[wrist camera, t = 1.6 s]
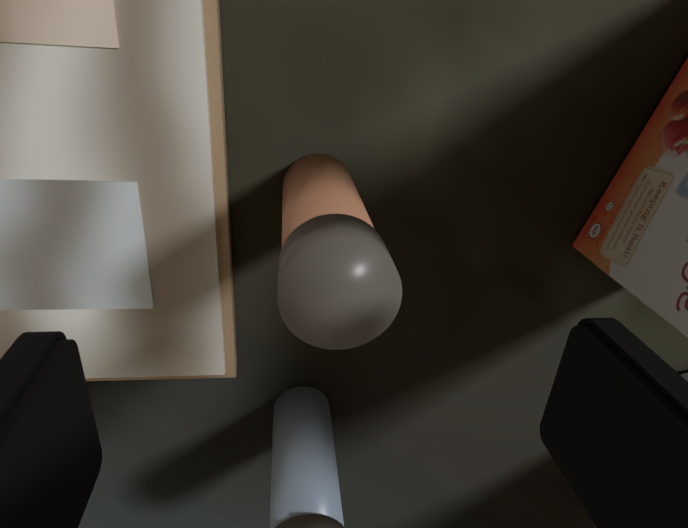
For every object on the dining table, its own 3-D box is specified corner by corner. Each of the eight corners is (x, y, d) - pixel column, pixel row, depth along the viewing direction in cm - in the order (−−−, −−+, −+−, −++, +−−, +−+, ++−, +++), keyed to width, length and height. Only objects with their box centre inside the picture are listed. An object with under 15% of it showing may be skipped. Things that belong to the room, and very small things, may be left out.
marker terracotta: (357, 152, 21) (409, 240, 13) (352, 224, 23) (395, 348, 14) (280, 150, 21) (277, 239, 12) (280, 222, 22) (277, 350, 14)
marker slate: (332, 384, 27) (356, 559, 18) (329, 429, 28) (350, 612, 20) (271, 385, 27) (264, 565, 18) (271, 431, 28) (265, 619, 19)
